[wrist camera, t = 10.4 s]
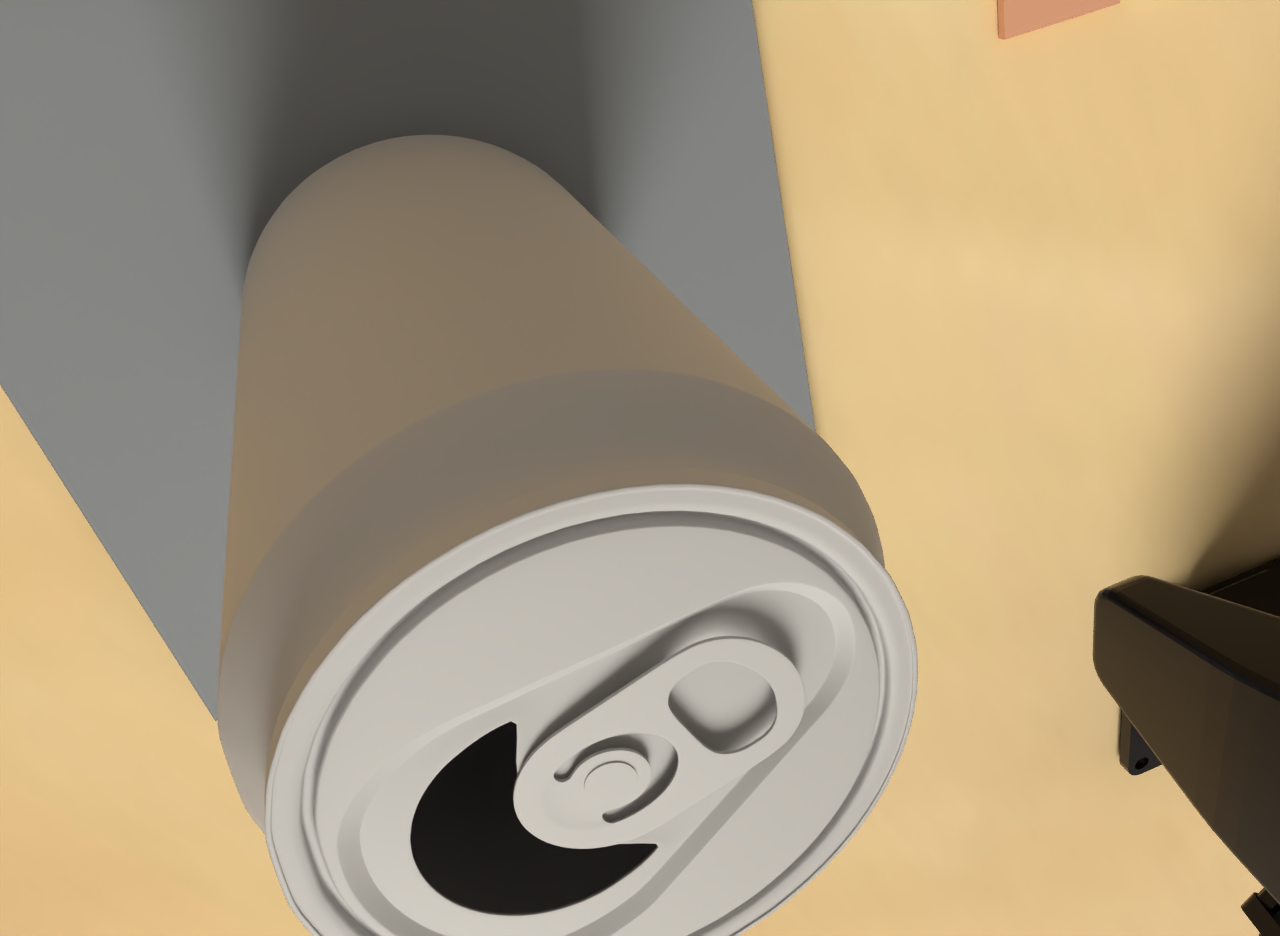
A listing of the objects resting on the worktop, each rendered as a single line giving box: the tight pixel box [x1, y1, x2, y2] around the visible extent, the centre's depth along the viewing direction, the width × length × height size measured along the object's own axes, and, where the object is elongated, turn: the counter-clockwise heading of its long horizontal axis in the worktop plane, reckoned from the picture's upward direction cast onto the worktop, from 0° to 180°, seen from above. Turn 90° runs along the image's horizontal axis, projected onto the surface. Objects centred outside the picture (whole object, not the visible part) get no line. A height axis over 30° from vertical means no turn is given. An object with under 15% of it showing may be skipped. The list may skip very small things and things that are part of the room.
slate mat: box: [0, 0, 815, 721], centre depth 19 cm, size 14×14×1 cm
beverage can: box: [217, 135, 918, 936], centre depth 13 cm, size 6×6×12 cm
